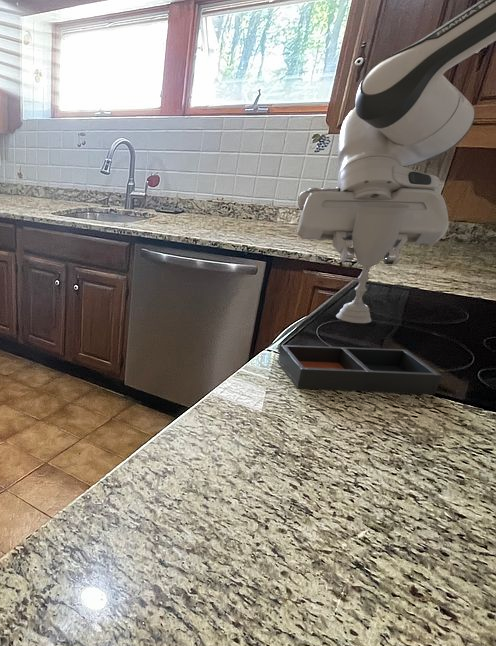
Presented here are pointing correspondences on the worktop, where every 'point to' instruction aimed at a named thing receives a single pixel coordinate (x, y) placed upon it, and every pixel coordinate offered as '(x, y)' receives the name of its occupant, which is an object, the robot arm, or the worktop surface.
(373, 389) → the tray
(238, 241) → the worktop surface
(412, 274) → the worktop surface
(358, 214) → the chalice
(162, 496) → the worktop surface
